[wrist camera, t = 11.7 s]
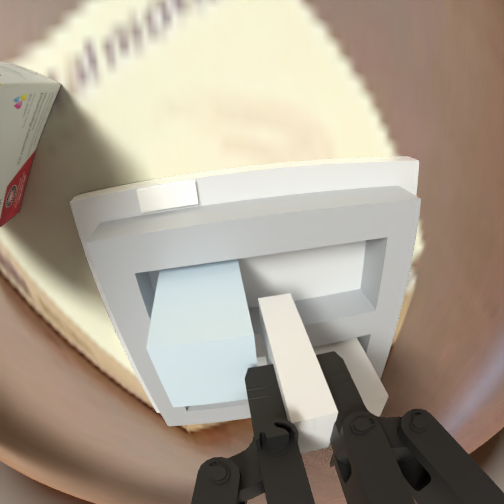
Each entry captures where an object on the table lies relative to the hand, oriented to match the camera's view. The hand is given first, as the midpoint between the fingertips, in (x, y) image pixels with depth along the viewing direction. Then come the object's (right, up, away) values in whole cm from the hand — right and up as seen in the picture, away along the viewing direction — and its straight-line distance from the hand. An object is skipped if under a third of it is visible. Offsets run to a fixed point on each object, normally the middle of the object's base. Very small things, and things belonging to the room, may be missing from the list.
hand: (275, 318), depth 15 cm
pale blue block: (-4, +1, +3) cm, 5 cm away
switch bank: (0, -1, +6) cm, 6 cm away
